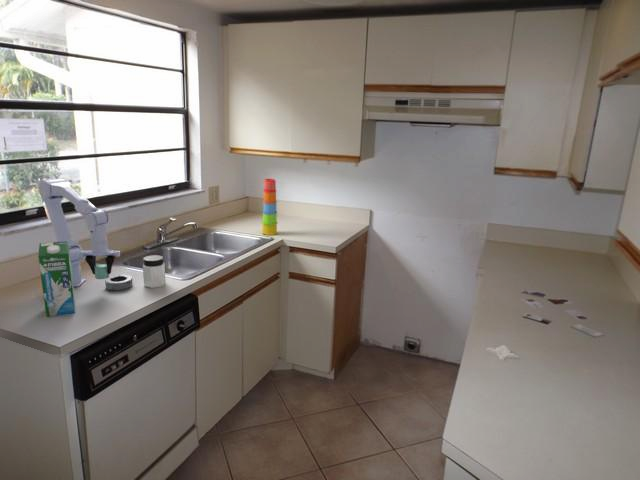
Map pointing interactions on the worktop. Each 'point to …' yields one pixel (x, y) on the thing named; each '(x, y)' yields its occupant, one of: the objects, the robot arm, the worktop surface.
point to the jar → (154, 271)
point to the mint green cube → (101, 271)
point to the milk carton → (56, 278)
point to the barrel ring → (118, 282)
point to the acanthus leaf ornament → (502, 352)
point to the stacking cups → (269, 208)
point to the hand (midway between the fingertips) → (102, 273)
